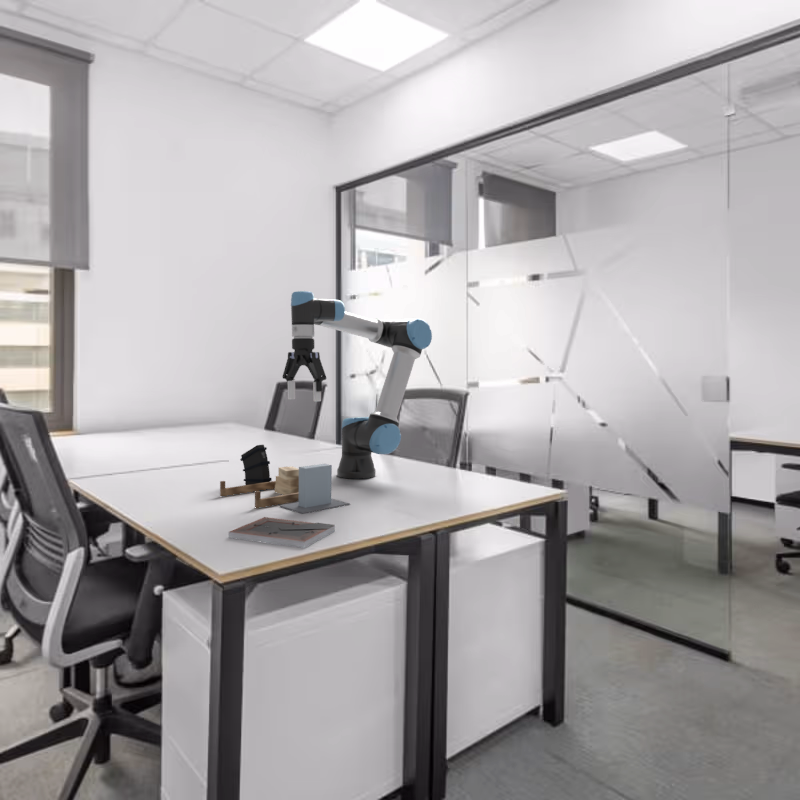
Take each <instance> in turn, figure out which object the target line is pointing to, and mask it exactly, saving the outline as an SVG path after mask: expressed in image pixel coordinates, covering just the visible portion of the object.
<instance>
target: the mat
mask: <svg viewBox="0 0 800 800" xmlns="http://www.w3.org/2000/svg"><path fill="white" fill-rule="evenodd" d="M349 504H350V505H351V503H350V502H346V501H342V500H339V499H335V498H332V497H331V503H328V504H323V505H318V506H312V507H307V508H304V507H301V506H299V501H297V502H291V503H285V504H280V505H279V507H280V508H282V507H283V508H282V509H286V510H289V511H292V510H293V511H292V512H295V511H296V513H299V514H301V515H304V514H310V513H314V511H315V512H319V510H320V511H325V510H330V509H334V507H335V508H340V507H345V506H350V505H349ZM344 505H345V506H344ZM339 506H340V507H339ZM329 508H330V509H329ZM324 509H325V510H324ZM309 512H310V513H309Z"/></svg>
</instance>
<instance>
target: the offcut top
mask: <svg viewBox="0 0 800 800" xmlns="http://www.w3.org/2000/svg"><path fill="white" fill-rule="evenodd" d="M278 476H279V477H281V478H283V479H285V480H290V479H299V467H296V466H295V467H294V466H281V467H278Z"/></svg>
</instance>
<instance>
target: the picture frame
mask: <svg viewBox="0 0 800 800" xmlns="http://www.w3.org/2000/svg"><path fill="white" fill-rule="evenodd" d="M335 530H336V526H335V524H331V523H323V522H308V521H300V520H294V519H293V520H292V519H283V518H275V517H267V516H264V517H261V518H259V519H257V520H255V521H252V522H251V521H250V523H247V524H244V525H241V526H240V527H237V528H234V529H231V530H229V531H228V538H229V537H230V538H229V539H233V538H237V539H236V540H240V539H244V540H243V541H248V540H253V541H252V542H255V541H261V542H260V543H263V542H266V543H265V544H270V543H272V544H271V545H277V546H278V545H280V546H286V547H293V548H294V547H295V548H302V549H306V548H307V547H309V546H311V545H312V544H314V543H316V542H318V541H319V540H321V539H323V538H325V537H327V536H328V535H330V534H332V533H334V532H335Z"/></svg>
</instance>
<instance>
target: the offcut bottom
mask: <svg viewBox="0 0 800 800" xmlns="http://www.w3.org/2000/svg"><path fill="white" fill-rule="evenodd" d="M275 492H277V493H276V494H278V493H280V494H279V495H281V494H283V495H286V494H292V493H298V492H299V488H296V489H287V488H284V487H281V486H277V485H275V489H274V493H275Z"/></svg>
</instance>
